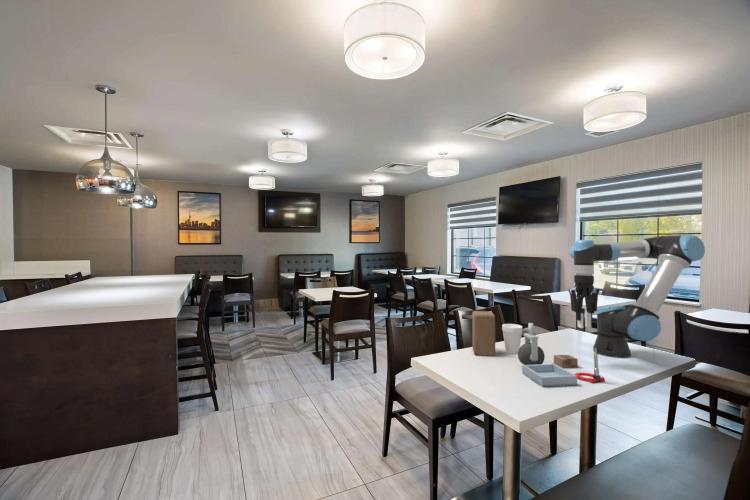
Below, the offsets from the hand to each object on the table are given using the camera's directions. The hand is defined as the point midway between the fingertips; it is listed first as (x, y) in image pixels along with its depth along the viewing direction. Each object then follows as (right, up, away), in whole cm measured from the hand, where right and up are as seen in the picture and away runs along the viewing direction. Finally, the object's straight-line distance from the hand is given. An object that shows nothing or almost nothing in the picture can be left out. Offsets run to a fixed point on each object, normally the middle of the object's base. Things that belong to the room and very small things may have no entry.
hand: (584, 327), depth 152 cm
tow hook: (-8, -17, -16) cm, 25 cm away
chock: (-9, -17, -1) cm, 19 cm away
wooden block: (-39, -17, +18) cm, 46 cm away
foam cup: (-24, -17, +20) cm, 35 cm away
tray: (-24, -17, -17) cm, 34 cm away
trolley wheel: (-25, -17, -3) cm, 30 cm away
